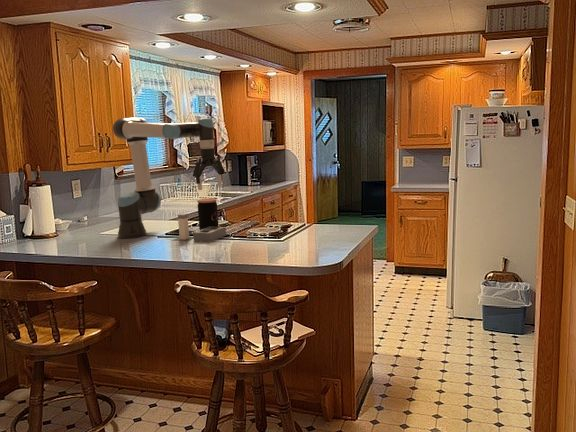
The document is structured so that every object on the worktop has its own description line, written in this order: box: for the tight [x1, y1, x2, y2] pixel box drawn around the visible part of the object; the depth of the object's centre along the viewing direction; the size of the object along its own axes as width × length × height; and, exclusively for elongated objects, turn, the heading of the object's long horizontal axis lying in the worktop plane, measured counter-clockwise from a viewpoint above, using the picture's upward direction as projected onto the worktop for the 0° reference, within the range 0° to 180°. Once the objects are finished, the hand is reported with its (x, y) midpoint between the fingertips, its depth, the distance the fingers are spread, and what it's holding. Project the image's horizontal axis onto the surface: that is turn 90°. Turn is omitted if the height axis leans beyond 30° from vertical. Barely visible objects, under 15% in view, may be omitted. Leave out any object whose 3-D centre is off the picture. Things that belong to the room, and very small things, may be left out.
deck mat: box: [171, 236, 194, 242], centre depth 293 cm, size 10×10×1 cm
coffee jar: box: [196, 198, 220, 230], centre depth 309 cm, size 11×11×18 cm
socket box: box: [192, 226, 227, 243], centre depth 291 cm, size 10×16×5 cm, turn 156°
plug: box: [177, 213, 190, 240], centre depth 292 cm, size 4×4×13 cm
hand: (210, 188), depth 296 cm, fingers open, 13 cm apart
